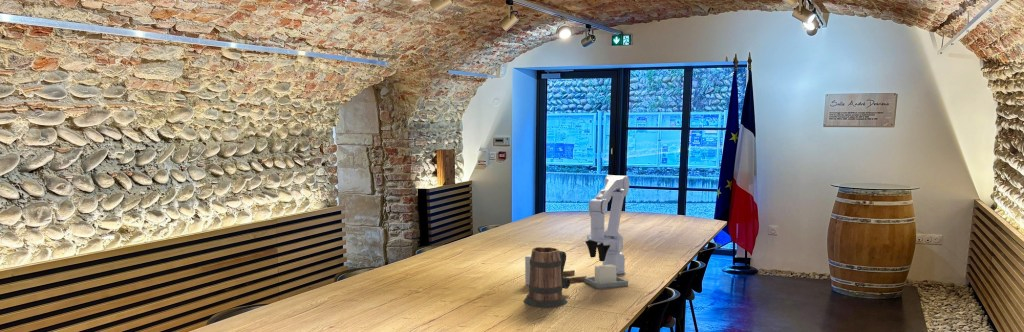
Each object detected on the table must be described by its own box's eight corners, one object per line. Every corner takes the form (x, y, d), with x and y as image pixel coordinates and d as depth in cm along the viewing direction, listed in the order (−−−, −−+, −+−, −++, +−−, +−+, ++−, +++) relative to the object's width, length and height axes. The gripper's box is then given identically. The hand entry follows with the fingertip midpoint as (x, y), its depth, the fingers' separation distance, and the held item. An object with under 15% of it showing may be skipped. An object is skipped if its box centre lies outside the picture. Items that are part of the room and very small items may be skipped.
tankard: (549, 310, 232) (550, 256, 231) (514, 302, 243) (513, 250, 241) (586, 296, 250) (586, 246, 248) (551, 289, 261) (551, 240, 259)
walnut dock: (573, 274, 285) (573, 270, 285) (586, 280, 274) (586, 276, 274) (552, 276, 281) (552, 272, 281) (564, 283, 270) (564, 278, 270)
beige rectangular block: (612, 280, 272) (613, 264, 272) (617, 282, 269) (618, 266, 268) (594, 282, 269) (594, 265, 268) (599, 284, 265) (599, 268, 265)
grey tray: (612, 279, 277) (613, 274, 277) (628, 285, 266) (628, 281, 266) (584, 282, 272) (584, 277, 272) (598, 289, 261) (598, 284, 260)
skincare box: (541, 283, 270) (541, 255, 269) (538, 286, 266) (538, 257, 265) (528, 282, 272) (528, 254, 271) (524, 284, 268) (524, 256, 267)
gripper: (580, 225, 278) (580, 256, 279) (598, 231, 264) (597, 263, 265) (595, 224, 280) (595, 254, 281) (612, 229, 267) (612, 261, 268)
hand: (597, 259), depth 274 cm, fingers open, 7 cm apart
